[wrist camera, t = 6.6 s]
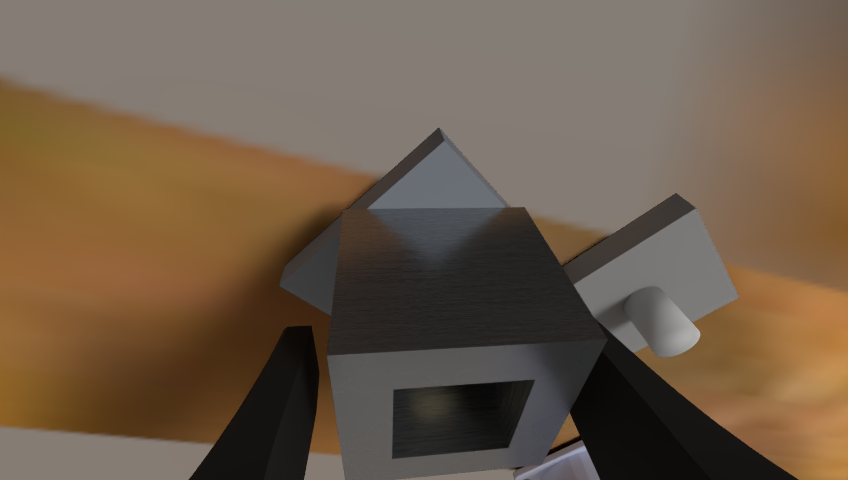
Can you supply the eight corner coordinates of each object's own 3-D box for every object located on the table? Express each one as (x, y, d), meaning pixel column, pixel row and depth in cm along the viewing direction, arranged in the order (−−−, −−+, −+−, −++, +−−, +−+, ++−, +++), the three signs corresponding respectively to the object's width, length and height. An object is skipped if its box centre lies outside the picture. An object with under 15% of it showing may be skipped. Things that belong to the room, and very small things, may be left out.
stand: (720, 280, 16) (782, 336, 14) (595, 349, 18) (630, 409, 16) (676, 193, 13) (745, 245, 11) (530, 287, 15) (561, 349, 13)
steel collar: (524, 207, 11) (607, 339, 7) (494, 327, 15) (541, 464, 11) (342, 209, 11) (327, 355, 7) (353, 334, 14) (346, 484, 10)
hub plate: (557, 259, 14) (611, 345, 11) (419, 349, 16) (431, 443, 13) (439, 127, 11) (468, 198, 7) (284, 265, 13) (256, 365, 10)
